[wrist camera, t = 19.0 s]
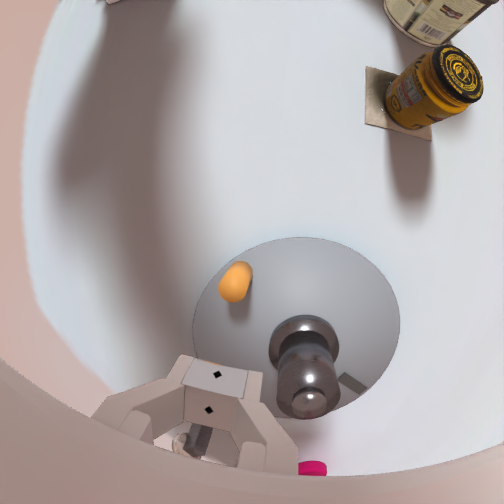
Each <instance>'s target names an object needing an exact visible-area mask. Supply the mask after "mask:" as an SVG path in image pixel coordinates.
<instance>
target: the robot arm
mask: <svg viewBox="0 0 504 504" xmlns="http://www.w3.org/2000/svg"><path fill="white" fill-rule="evenodd" d="M117 1H120V0H106V2H107V3H108V4H112V3H115V2H117ZM262 378H263V373H262V372H257V371H251V370H249V371H248V370H243V369H238V368H233V367H229V366H224V365H221V364H217V363H213V362H209V361H205V360H202V359H198V358H194V357H191V356H187V355H184V354H182V355H180V356H179V358H178V359H177V361H176V362H175V364H174V366H173V367H172V369H171V371H170V372H169V374H168V375H167V377H166V379H163V378H160V379H157V380H155V381H152V382H149V383H147V384H144V385H141V386H138V387H135V388H133V389H130V390H127V391H124V392H121V393H118V394H115V395H112V396H109V397H107V398H106V399H105V400H104V402H103V403H102V404H101V405H100V407H99V408H98V409H97V410H96V412H95V413H94V414H93V415H92V417H91V418H89V417H88V416H86V415H84V414H82V413H80V412H79V411H77V410H75V409H73V408H72V407H70V406H68V405H66V404H64V403H63V402H61V401H60V400H58V399H56V398H55V397H53V396H52V395H50V394H49V393H47V392H45V391H44V390H43V389H41V388H39V387H38V386H37V385H35V384H34V383H32V382H31V381H30V380H28V379H27V378H25V377H24V376H23V375H21V374H20V373H19V372H17V371H16V370H15V369H14V368H12V367H11V366H10V365H8V364H7V363H6V362H5V361H4V360H3V359H1V358H0V504H504V444H499V445H496V446H493V447H491V448H488V449H486V450H483V451H480V452H477V453H474V454H471V455H468V456H465V457H462V458H458V459H455V460H451V461H447V462H444V463H440V464H435V465H431V466H426V467H421V468H416V469H410V470H404V471H398V472H390V473H382V474H371V475H357V476H303V475H298V446H297V445H296V444H295V443H294V442H293V440H292V439H291V438H290V437H289V435H288V434H287V433H286V432H285V430H284V429H283V428H282V426H281V425H280V424H279V423H278V421H277V420H276V419H275V417H274V416H273V415H272V413H271V412H270V411H269V409H268V408H267V407H266V405H265V404H264V403H261V402H260V395H261V387H262ZM183 420H185V421H188V422H192V423H196V424H200V425H205V426H209V427H212V428H216V429H220V430H224V431H228V432H230V433H231V436H232V438H233V440H234V442H235V444H236V446H237V448H238V450H239V452H240V454H239V458H238V461H237V464H236V467H230V466H225V465H221V464H216V463H212V462H208V461H204V460H200V459H196V458H192V457H189V456H185V455H182V454H178V453H175V452H172V451H169V450H166V449H163V448H160V447H157V446H154V442H153V440H154V439H156V438H157V437H159V436H161V435H162V434H164V433H166V432H167V431H169V430H171V429H172V428H174V427H175V426H177V425H179V424H180V423H182V422H183Z"/></svg>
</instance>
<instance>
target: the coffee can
mask: <svg viewBox="0 0 504 504" xmlns="http://www.w3.org/2000/svg"><path fill="white" fill-rule="evenodd" d="M498 1H499V0H384V10H385V12H386V14H387V16H388V17H389V19H390V20H391V21H392V23H393V24H394V25H395V26H396V27H397V28H398V29H399V30H400V31H401V32H403V33H404V34H405V35H407V36H408V37H409V38H411V39H413V40H415V41H417V42H418V43H421V44H423V45H426V46H429V47H438V46H440V45H446V44H447V42H448V41H449V40H450V39H452V38H453V37H454V36H455V35H456V34H457V33H459V32H460V31H461V30H462V29H463V28H464V27H465V26H467V25H468V24H469V23H470V22H471V21H473V20H474V19H475V18H476V17H478V16H479V15H480V14H481V13H482V12H484V11H485V10H486V9H487V8H488V7H490V6H491V5H492V4H495V3H497V2H498Z"/></svg>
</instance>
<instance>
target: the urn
mask: <svg viewBox="0 0 504 504" xmlns="http://www.w3.org/2000/svg"><path fill="white" fill-rule="evenodd" d="M338 354H339V341H338V338H337V335H336V332H335V330H334V328H333V327H332V325H331V324H330V323H329V322H327V321H326V320H324V319H323V318H321V317H318V316H314V315H297V316H293V317H291V318H288V319H286V320H284V321H283V322H281V323H280V324H279V325H278V326H277V327H276V328H275V330H274V331H273V333H272V335H271V337H270V342H269V358H270V361H271V363H272V365H273V366H274V368H275V369H276V370H277V371H278V380H277V397H276V402H277V405H278V407H279V409H280V410H281V411H282V412H283V413H284V414H286V415H287V416H289V417H292V418H295V419H303V420H306V419H314V418H318V417H321V416H324V415H326V414H327V413H329V412H330V411H332V410H333V409H334V408H335V407H336V405H337V404H338V402H339V400H340V396H341V392H340V387H339V383H338V379H337V375H336V371H335V367H334V362H335V361H336V359H337V357H338Z"/></svg>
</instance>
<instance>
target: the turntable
mask: <svg viewBox="0 0 504 504" xmlns="http://www.w3.org/2000/svg"><path fill="white" fill-rule="evenodd" d="M297 315H314V316H318V317H321V318H323V319H324V320H326V321H327V322H329V323H330V324H331V325H332V327H333V328H334V330H335V332H336V335H337V338H338V341H339V354H338V357H337V359H336V361H335V362H334V367H335V371H336V375H337V379H338V383H339V387H340V392H341V396H340V400H339V402H338V404H337V405H336V407H335V408H334V409H333V410H332V411H334V410H336V409H339V408H341V407H343V406H345V405H347V404H349V403H351V402H352V401H354V400H356V399H357V398H358V397H360V396H361V395H363V394H364V393H365V392H366V391H368V390H369V389H370V388H371V387H372V386H373V385H374V384H375V383H376V382H377V380H378V379H379V378H380V377H381V376H382V374H383V373H384V371H385V370H386V368H387V367H388V365H389V363H390V361H391V359H392V357H393V355H394V353H395V350H396V347H397V343H398V338H399V333H400V314H399V307H398V304H397V300H396V297H395V294H394V292H393V290H392V288H391V286H390V284H389V282H388V281H387V279H386V278H385V276H384V275H383V274H382V273H381V272H380V270H379V269H378V268H377V267H376V266H375V265H374V264H373V263H371V262H370V261H369V260H368V259H367V258H365V257H364V256H363V255H361V254H360V253H358V252H356V251H354V250H353V249H351V248H349V247H346V246H344V245H341V244H339V243H336V242H332V241H328V240H324V239H318V238H309V237H296V238H285V239H279V240H274V241H271V242H267V243H264V244H260V245H258V246H256V247H254V248H251V249H249V250H247V251H245V252H243V253H242V254H240V255H239V256H237V257H235V258H234V259H232V260H231V261H230V262H229V263H228V264H226V265H225V266H224V267H223V268H222V269H221V270H220V271H219V272H218V273H217V274H216V275H215V276H214V277H213V279H212V280H211V281H210V283H209V284H208V286H207V287H206V289H205V290H204V292H203V294H202V296H201V298H200V300H199V302H198V305H197V308H196V311H195V315H194V322H193V342H194V348H195V352H196V355H197V358H198V359H202V360H205V361H209V362H213V363H217V364H221V365H224V366H229V367H233V368H238V369H243V370H248V371H249V370H251V371H257V372H262V373H263V378H262V387H261V395H260V402H261V403H264V404H265V405H266V407H267V408H268V409H269V411H270V412H271V413H272V415H273V416H274V417H281V418H292V417H289V416H287V415H286V414H284V413H283V412H282V411H281V410H280V409H279V407H278V405H277V402H276V397H277V380H278V371H277V370H276V369H275V368H274V366H273V365H272V363H271V361H270V358H269V342H270V337H271V335H272V333H273V331H274V330H275V328H276V327H277V326H278V325H279V324H280V323H281V322H283V321H284V320H286V319H288V318H291V317H293V316H297ZM330 412H331V411H330Z"/></svg>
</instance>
